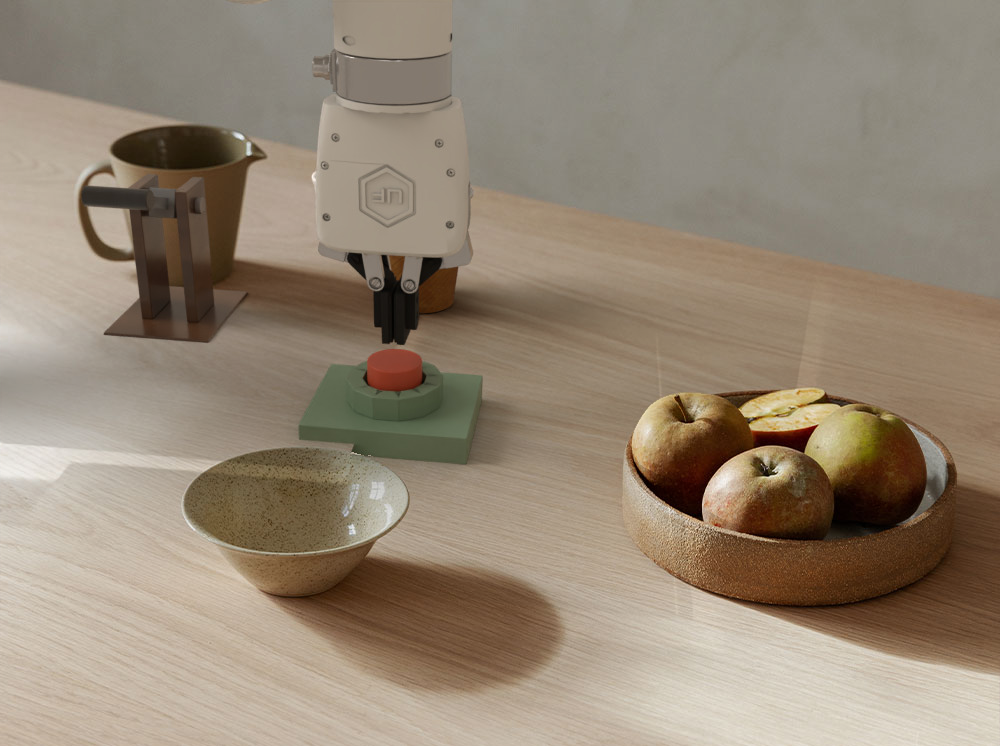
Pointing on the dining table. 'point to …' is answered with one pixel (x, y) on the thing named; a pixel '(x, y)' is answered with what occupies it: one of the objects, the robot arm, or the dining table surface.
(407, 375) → the button
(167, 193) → the lever
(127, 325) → the bracket
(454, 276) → the disposable coffee cup
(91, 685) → the dining table surface
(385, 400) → the button box
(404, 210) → the robot arm
